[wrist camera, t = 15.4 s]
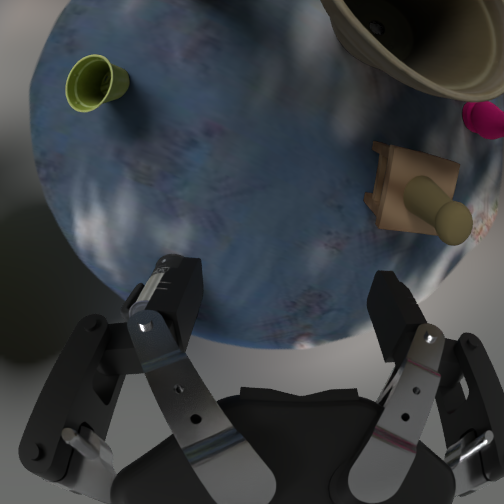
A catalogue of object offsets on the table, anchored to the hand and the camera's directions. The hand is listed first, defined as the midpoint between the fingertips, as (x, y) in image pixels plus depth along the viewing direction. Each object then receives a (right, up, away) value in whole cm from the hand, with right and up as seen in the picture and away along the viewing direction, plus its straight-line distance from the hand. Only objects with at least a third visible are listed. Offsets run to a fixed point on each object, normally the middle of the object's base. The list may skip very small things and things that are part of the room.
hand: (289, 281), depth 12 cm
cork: (+22, +9, +21) cm, 32 cm away
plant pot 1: (-25, +31, +24) cm, 46 cm away
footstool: (+23, +14, +29) cm, 40 cm away
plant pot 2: (+18, +37, +17) cm, 44 cm away
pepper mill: (+40, +27, +21) cm, 52 cm away
